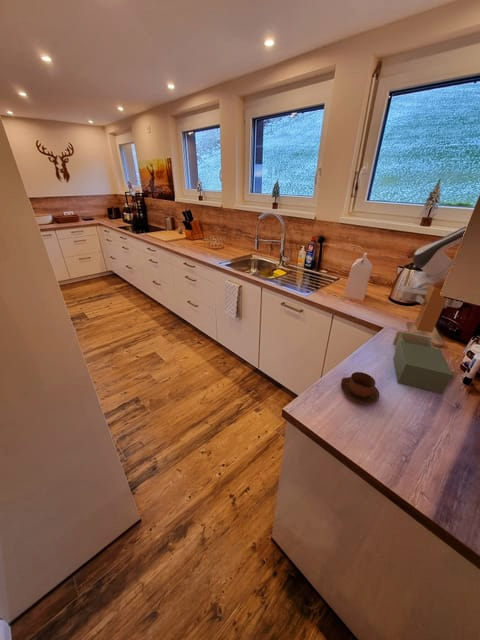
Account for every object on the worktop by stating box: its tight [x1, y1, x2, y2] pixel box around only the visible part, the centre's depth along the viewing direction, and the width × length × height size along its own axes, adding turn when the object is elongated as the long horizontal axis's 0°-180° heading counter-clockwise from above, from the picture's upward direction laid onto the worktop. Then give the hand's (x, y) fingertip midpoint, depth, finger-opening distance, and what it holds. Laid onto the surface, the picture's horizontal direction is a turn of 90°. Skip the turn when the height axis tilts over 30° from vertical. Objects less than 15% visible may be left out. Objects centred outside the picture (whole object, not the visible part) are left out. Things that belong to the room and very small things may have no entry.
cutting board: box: [406, 321, 446, 349], centre depth 123 cm, size 12×18×2 cm, turn 158°
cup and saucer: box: [340, 371, 381, 405], centre depth 87 cm, size 12×12×6 cm
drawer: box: [391, 329, 435, 351], centre depth 107 cm, size 19×12×7 cm, turn 158°
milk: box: [342, 252, 373, 302], centre depth 157 cm, size 12×12×26 cm
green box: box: [392, 341, 454, 395], centre depth 95 cm, size 16×14×9 cm
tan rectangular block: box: [414, 279, 447, 333], centre depth 96 cm, size 5×5×20 cm
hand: (434, 304), depth 95 cm, fingers closed on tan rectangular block, 5 cm apart
